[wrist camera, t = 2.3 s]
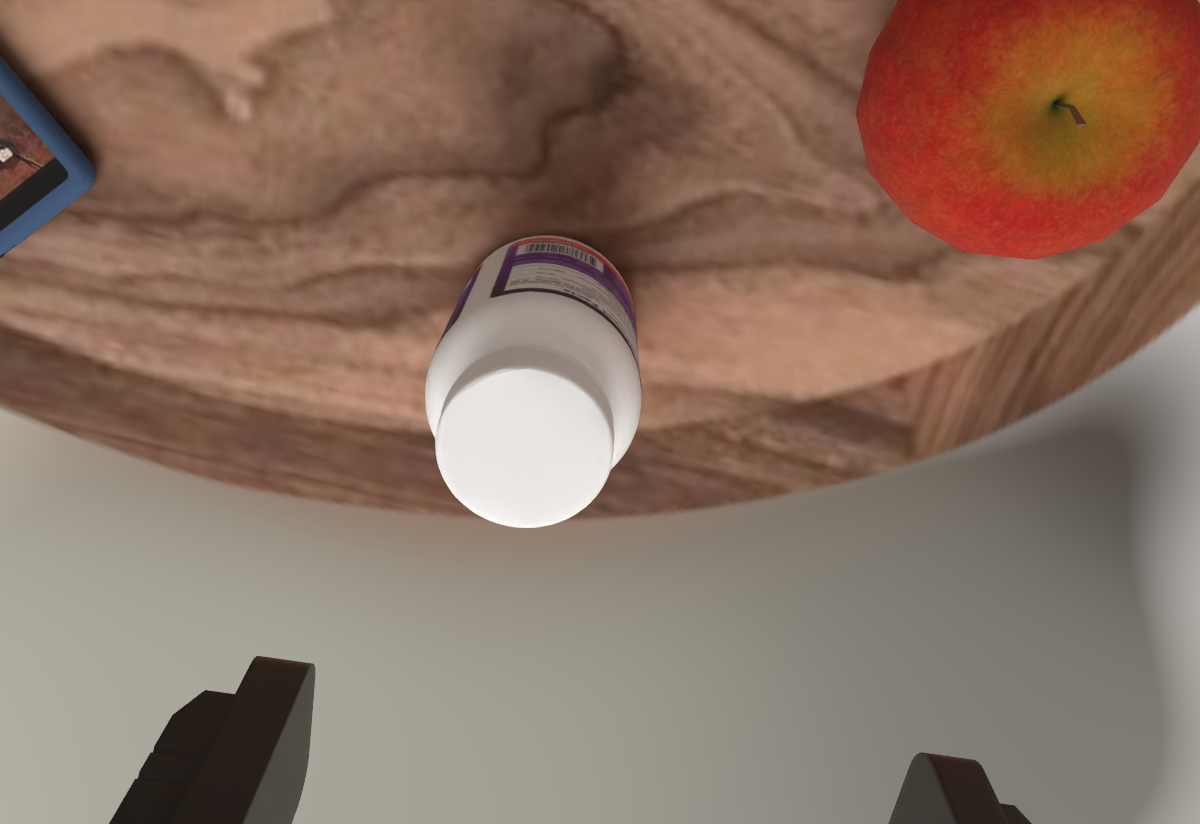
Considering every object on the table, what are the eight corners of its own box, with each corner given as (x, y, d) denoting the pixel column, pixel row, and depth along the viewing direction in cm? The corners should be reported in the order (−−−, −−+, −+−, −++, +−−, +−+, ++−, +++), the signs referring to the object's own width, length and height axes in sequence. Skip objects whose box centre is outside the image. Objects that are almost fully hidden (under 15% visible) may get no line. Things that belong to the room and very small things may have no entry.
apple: (1129, 170, 30) (1292, 230, 23) (862, 252, 31) (936, 335, 24) (1093, -115, 27) (1266, -150, 20) (799, -15, 28) (863, -13, 21)
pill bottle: (530, 430, 33) (500, 595, 24) (425, 297, 32) (350, 423, 23) (671, 338, 32) (692, 477, 23) (569, 195, 30) (549, 285, 21)
